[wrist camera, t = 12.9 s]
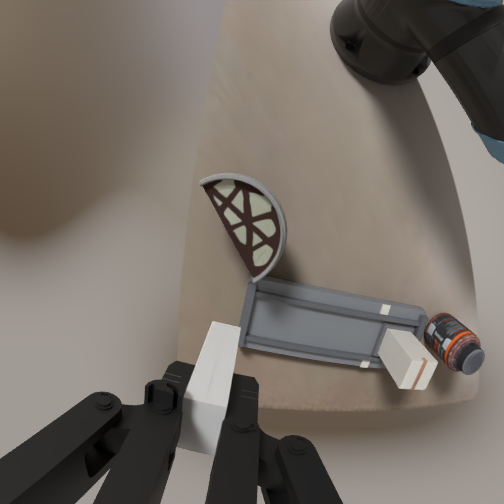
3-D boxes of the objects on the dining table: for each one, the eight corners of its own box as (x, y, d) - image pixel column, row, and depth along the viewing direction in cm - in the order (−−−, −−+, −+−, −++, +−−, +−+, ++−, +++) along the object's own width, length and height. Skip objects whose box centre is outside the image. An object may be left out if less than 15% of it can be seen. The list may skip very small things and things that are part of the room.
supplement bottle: (416, 330, 44) (450, 366, 33) (443, 304, 43) (482, 333, 32) (432, 352, 44) (465, 388, 33) (458, 327, 43) (495, 358, 32)
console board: (250, 272, 43) (249, 279, 40) (420, 307, 43) (429, 314, 40) (236, 338, 45) (234, 349, 42) (398, 364, 45) (405, 374, 42)
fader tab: (383, 321, 41) (410, 355, 32) (412, 326, 41) (442, 359, 32) (371, 352, 42) (393, 391, 33) (400, 356, 42) (426, 393, 33)
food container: (299, 242, 42) (309, 260, 32) (257, 264, 43) (255, 287, 33) (254, 158, 40) (251, 149, 30) (212, 181, 41) (196, 179, 31)
